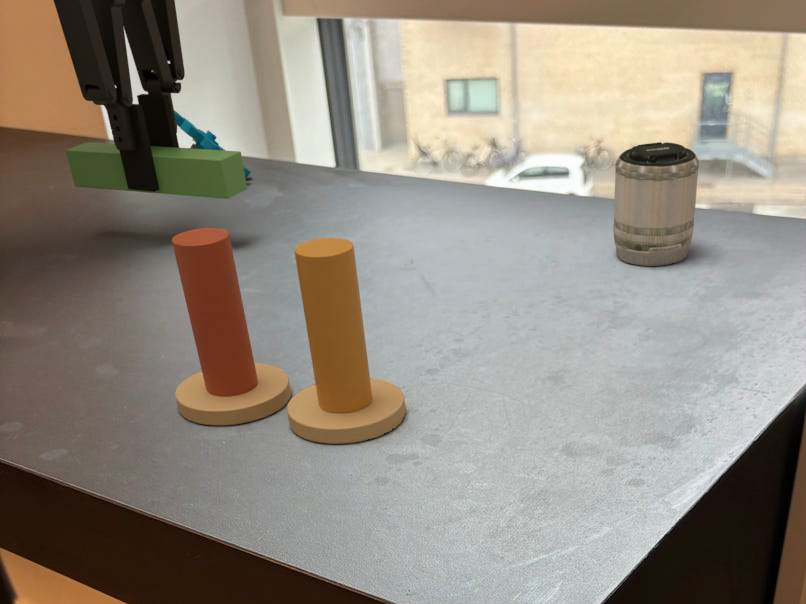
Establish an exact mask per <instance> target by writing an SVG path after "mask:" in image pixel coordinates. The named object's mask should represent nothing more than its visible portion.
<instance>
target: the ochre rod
mask: <svg viewBox="0 0 806 604" xmlns="http://www.w3.org/2000/svg"><path fill="white" fill-rule="evenodd" d="M293 253H294V256H295V263H296V271H297V275H298V282H299V289H300V295H301V301H302V309H303V314H304V320H305V327H306V332H307V333H306V334H307V340H308V346H309V352H310V357H311V364H312V365H311V366H312V370H313V377H314V384H312V385H310V386H307V387H305V388H303V389H302V390H301V391H298V392H297V393H296V394H294V395H293V396H291V398H290V399H289V401H288V402H287V407H286V412H287V418H288V423H289V427H290V429H291V430H292V432H293V433H295V434H296V435H297V436H298V437H301V438H302V439H305V440H307V441H311V442H315V443H319V444H329V445H330V444H331V445H343V444H354V443H360V442H365V441H369V440H372V439H375V438H378V437H381V436H384V435H385V434H384V433H386V434H388V433H390V432H391V431H392V430H391V429H393V428H394V427H396V426H397V425H398V424H399V425H401V423H402V422H403V421H402V420H404V419H405V416H406V414H407V412H406V411H407V409H406V400H405V399H406V398H405V394H404V392H403V391H402V389H400V387H399V386H397V385H396V384H394V383H392V382H389V381H386V380H383V379H379V378H372V377H371V376H370V375H371V374H370V368H369V360H368V359H369V358H368V352H367V343H366V335H365V326H364V319H363V311H362V303H361V294H360V285H359V279H358V278H359V277H358V271H357V261H356V253H355V245H354V243H353V242H352V241H351V240H349V239H346V238H341V237H321V238H316V239H310V240H307V241H304V242H301V243H299V244H297V246H295V248H294V252H293ZM405 413H406V414H405ZM403 418H404V419H403ZM401 421H402V422H401ZM399 425H398V426H399ZM398 426H397V427H398ZM397 427H396V428H397ZM394 429H395V428H394ZM394 429H393V430H394ZM387 432H388V433H387ZM368 439H369V440H368Z"/></svg>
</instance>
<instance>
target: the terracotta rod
mask: <svg viewBox="0 0 806 604" xmlns="http://www.w3.org/2000/svg"><path fill="white" fill-rule="evenodd" d="M230 237H231V236H230V233H229V231H227V230H226V229H223V228H217V227H203V228H202V227H201V228H193V229H190V230H189V229H188V230H185V231H182V232H180V233H178V234H176V235H174V236H173V237H172V238H171V244H172V247H173V248H172V249H173V252H174V257H175V262H176V266H177V269H178V270H177V271H178V273H179V278H180V283H181V287H182V291H183V296H184V299H185V304H186V309H187V313H188V316H189V317H188V318H189V322H190V325H191V326H190V327H191V331H192V335H193V339H194V343H195V348H196V352H197V356H198V361H199V365H200V370H201V371H199V372H196V373H194V374H193V375H190V376H189V377H187V378H185V379H184V380H183V381H182V382H181V383H180V384H178V386H177V387H176V390H175V394H174V397H175V400H176V404H177V408H178V412H179V413H180V415H181V416H182V417H183V418H185V419H186V420H188V421H190V422H193V423H196V424H200V425H206V426H233V425H240V424H246V423H251V422H254V421H258V420H261V419H264V418H266V417H268V416H271V415H273V414H275V413H276V412H278V411H279V410H281V409H283V408H284V407H285V406H286V405H288V403H289V401H290V400H291V398H292V390H291V383H290V378H289V376H288V374H287V373H286V372H285V371H284V370H283V369H281V368H279V367H277V366H274V365H270V364H267V363H258V362H255V359H254V354H253V350H252V344H251V339H250V333H249V329H248V322H247V318H246V313H245V309H244V308H245V307H244V303H243V298H242V291H241V288H240V282H239V277H238V273H237V267H236V263H235V257H234V252H233V246H232V242H231V238H230Z"/></svg>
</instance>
